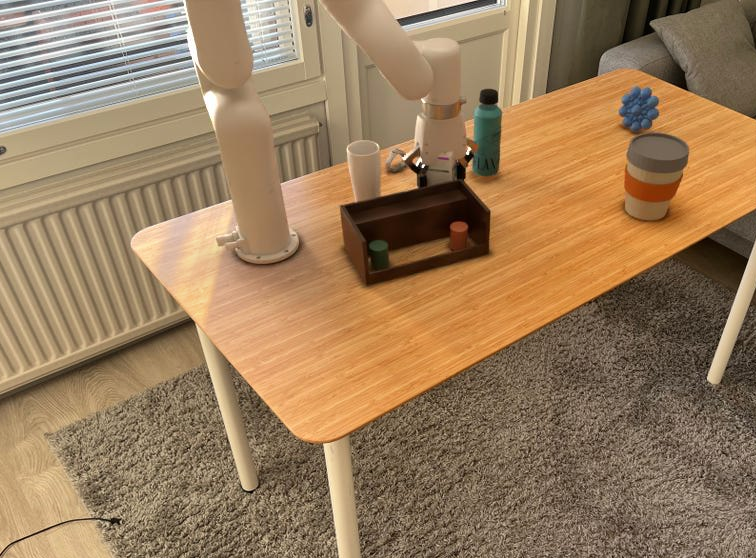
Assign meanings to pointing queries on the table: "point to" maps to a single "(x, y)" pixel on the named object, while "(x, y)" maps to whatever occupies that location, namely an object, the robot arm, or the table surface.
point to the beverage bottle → (487, 134)
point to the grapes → (639, 109)
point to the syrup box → (442, 169)
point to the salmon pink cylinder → (458, 236)
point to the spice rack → (414, 226)
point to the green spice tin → (379, 255)
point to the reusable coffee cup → (653, 173)
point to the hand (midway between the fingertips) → (441, 186)
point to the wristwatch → (391, 157)
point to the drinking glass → (364, 169)
